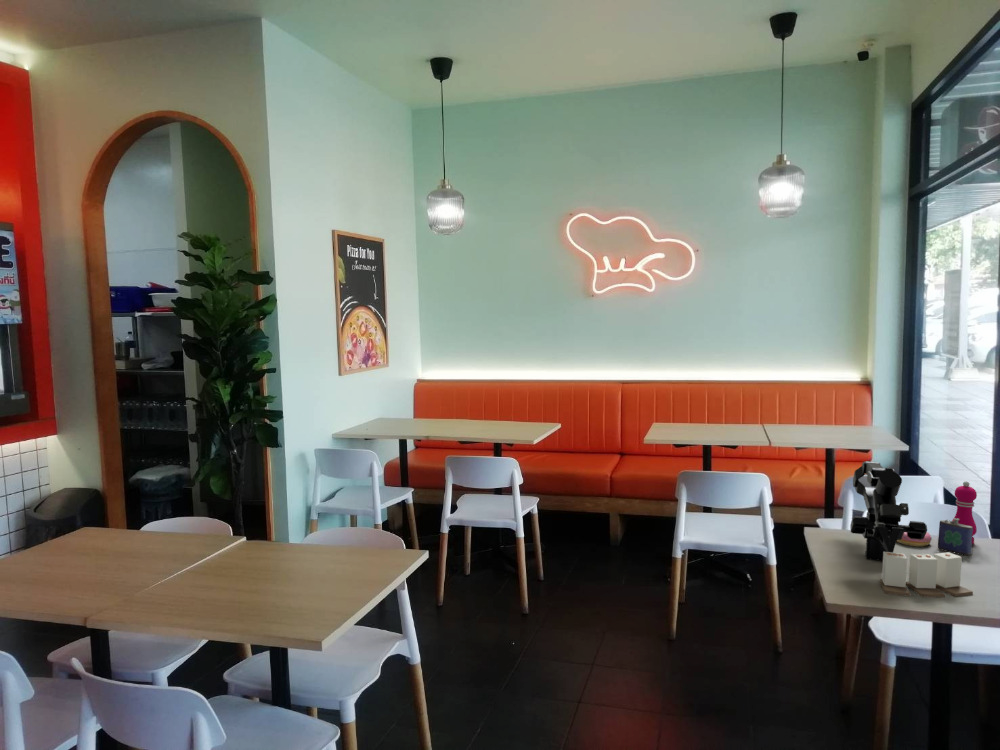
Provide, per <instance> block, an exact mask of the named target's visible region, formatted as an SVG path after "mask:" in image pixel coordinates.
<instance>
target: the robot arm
mask: <svg viewBox="0 0 1000 750" xmlns="http://www.w3.org/2000/svg"><path fill="white" fill-rule="evenodd" d="M902 482H903V479H902V477H901V475H900V474H898V473H897V472H896V471H895V469H894V468H891V467H884V466H882V464H881V463H880V462H878V461H867V460H866V461H862V464H861V466H860V467H859V468H857V469H856V470H854V473H853V477H852V487H853V488H855V491H856V494H857V495H861V496H863V500H864V504H865V507H866V510H867V512H866V516H857V515H855V516H853V517H852V518H851V521H850V527H849V528H850V533H851V534H855V535H856V534H857V535H862V537H863V539H866V543H865V544H866V545H865V550H864V552H865V553H864V554H865V559H867V560H873V561H880V562H881V561H882V562H883V552H893V553H894V551H895V547H896V544H897V540H901V539H902V536H903V534H904V532H907V536H908V537H909V538H910V539H919V540H922V539H924V537H925V535H926V532H927V533H928V527H927V526H928V525H927V524H926V523H925V521H915V520H910V521H909V523H908V524H907V525H906V524H899V523H901V520H902V516H908V515H909V513H910V511H909V510H910V509H909V503H907V502H906V503H905V502H904V503H903V502H900V503H899V504H897V500H896V499H897V498H896V497H897V495H898V493H899V492H900V487H901V486H902Z"/></svg>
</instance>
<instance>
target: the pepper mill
mask: <svg viewBox="0 0 1000 750" xmlns="http://www.w3.org/2000/svg"><path fill="white" fill-rule="evenodd" d="M977 496H978V495H977V491H976V489H974V487H972V486H971V485H970V481H965V480H964V482H963V483H962V485H960V486H958V487H956V488H955V490H954V497H955V498H956V500H955V504H956V513H955V515H954V517H953V518H956V519H957V518H958V519H960V520H959V521H958V524H962V525H967V526H972V527H973V532H972V545H974V543H975V537H974V536H975V535H976V534H977V524H976V522H975V519H974V516H973V508H974V507H975V502H974V501H975V500H976V499H977ZM953 518H952V520H951V521H954V519H953Z"/></svg>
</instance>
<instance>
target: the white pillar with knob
mask: <svg viewBox="0 0 1000 750" xmlns="http://www.w3.org/2000/svg"><path fill="white" fill-rule="evenodd" d="M933 557H934V558H936V559H937V574H936V584H937V585H940V586H942V587H944V588H948V587H956V586H961V574H962V572H961V571H962V560H963V559H962V558H963V557H962V556H960V555H958V554H956V553H953V552H948V551H946V552H938V553H934V554H933Z"/></svg>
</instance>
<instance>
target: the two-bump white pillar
mask: <svg viewBox="0 0 1000 750" xmlns="http://www.w3.org/2000/svg"><path fill="white" fill-rule="evenodd" d="M936 574H937V559H936V558H934V555H933V556H932V555H931V554H929V553H910V554H909V566H908V582H909V583H910V584H912V585H913V586H914V587H916V588H936Z"/></svg>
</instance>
